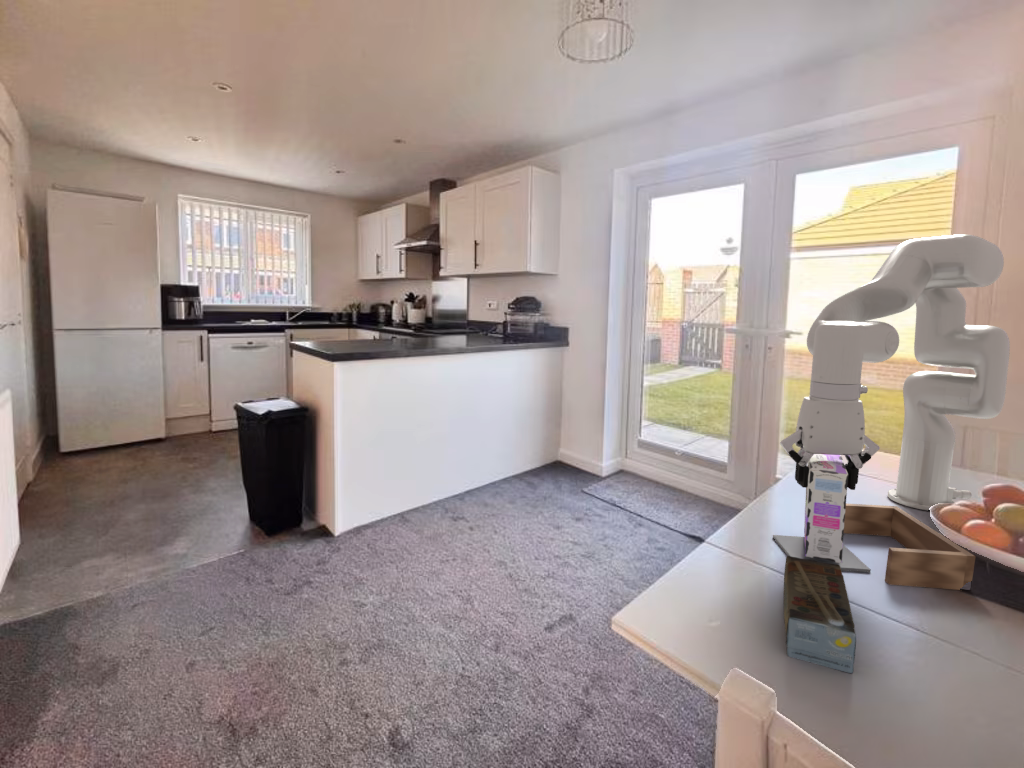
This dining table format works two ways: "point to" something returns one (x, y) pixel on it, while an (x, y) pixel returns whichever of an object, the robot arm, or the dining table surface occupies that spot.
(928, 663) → the dining table surface
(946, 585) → the bracket
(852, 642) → the beverage carton
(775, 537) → the mat
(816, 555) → the candy box
